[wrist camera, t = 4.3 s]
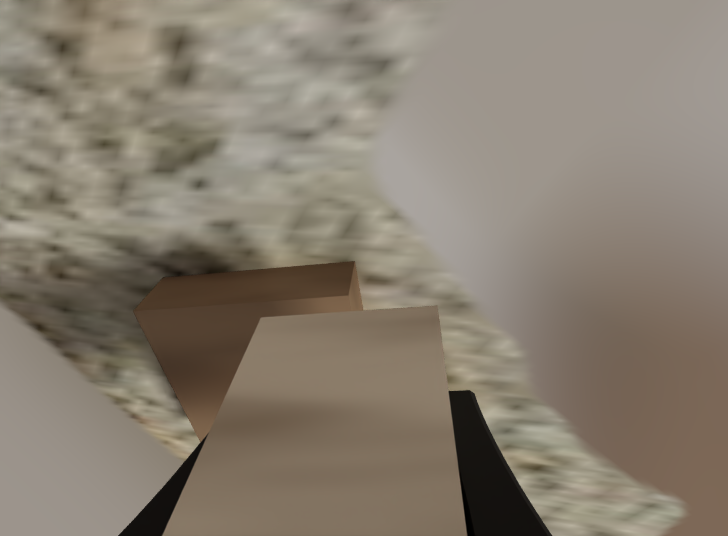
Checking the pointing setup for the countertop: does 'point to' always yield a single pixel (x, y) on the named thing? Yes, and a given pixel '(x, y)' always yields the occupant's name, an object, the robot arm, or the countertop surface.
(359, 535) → the ash block
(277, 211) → the countertop surface
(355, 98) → the countertop surface
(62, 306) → the countertop surface
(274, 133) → the countertop surface
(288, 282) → the walnut block
